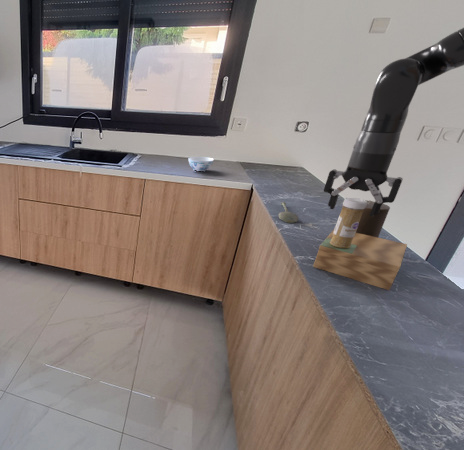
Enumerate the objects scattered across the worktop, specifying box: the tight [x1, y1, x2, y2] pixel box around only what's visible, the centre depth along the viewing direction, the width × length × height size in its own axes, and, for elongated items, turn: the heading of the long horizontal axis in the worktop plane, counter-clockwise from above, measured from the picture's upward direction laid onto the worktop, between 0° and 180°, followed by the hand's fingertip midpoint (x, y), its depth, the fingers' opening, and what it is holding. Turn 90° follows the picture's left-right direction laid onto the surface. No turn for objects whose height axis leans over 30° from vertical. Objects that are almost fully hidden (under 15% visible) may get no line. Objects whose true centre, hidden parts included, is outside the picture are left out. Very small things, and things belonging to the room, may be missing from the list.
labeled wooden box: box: [312, 227, 408, 291], centre depth 88 cm, size 16×18×7 cm
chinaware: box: [187, 156, 215, 172], centre depth 198 cm, size 15×15×8 cm
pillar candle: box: [356, 199, 391, 238], centre depth 100 cm, size 10×10×15 cm
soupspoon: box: [278, 201, 299, 224], centre depth 128 cm, size 22×3×7 cm
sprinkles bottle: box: [330, 197, 368, 248], centre depth 84 cm, size 5×5×13 cm
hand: (351, 211), depth 83 cm, fingers open, 7 cm apart
